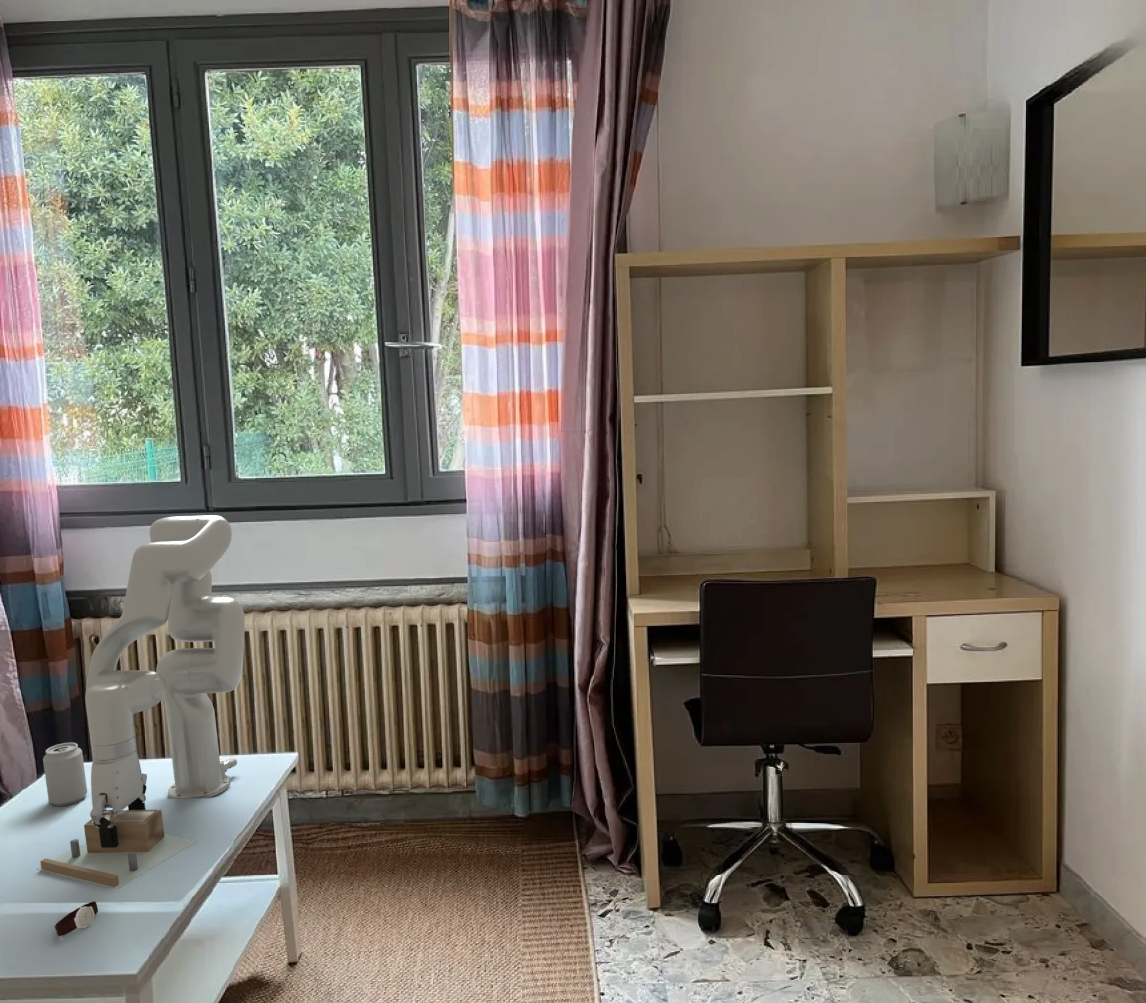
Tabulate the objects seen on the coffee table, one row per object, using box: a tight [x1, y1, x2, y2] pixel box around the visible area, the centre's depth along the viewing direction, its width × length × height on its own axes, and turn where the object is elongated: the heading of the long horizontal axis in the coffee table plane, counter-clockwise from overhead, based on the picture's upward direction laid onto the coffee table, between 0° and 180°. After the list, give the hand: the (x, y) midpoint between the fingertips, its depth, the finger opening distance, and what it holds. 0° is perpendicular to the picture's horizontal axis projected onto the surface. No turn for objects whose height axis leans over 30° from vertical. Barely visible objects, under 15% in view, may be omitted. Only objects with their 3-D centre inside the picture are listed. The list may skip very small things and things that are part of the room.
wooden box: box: [83, 809, 166, 853], centre depth 182 cm, size 6×12×6 cm, turn 85°
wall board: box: [36, 834, 198, 890], centre depth 178 cm, size 18×21×4 cm
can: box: [42, 742, 88, 807], centre depth 207 cm, size 8×8×12 cm
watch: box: [54, 901, 99, 937], centre depth 157 cm, size 8×5×4 cm, turn 164°
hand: (124, 834), depth 182 cm, fingers open, 9 cm apart
